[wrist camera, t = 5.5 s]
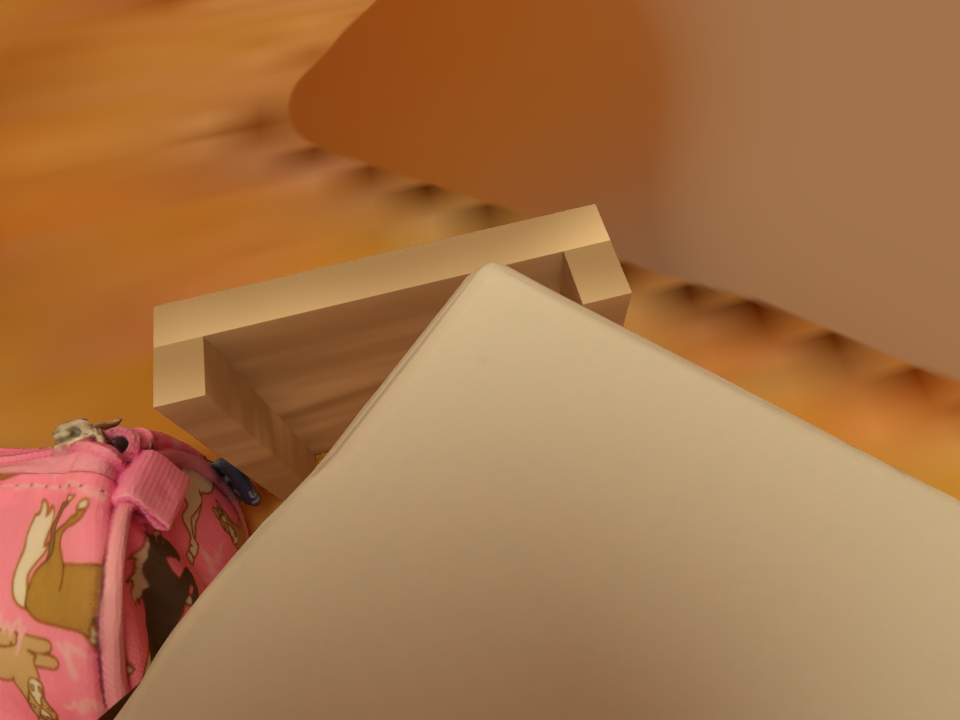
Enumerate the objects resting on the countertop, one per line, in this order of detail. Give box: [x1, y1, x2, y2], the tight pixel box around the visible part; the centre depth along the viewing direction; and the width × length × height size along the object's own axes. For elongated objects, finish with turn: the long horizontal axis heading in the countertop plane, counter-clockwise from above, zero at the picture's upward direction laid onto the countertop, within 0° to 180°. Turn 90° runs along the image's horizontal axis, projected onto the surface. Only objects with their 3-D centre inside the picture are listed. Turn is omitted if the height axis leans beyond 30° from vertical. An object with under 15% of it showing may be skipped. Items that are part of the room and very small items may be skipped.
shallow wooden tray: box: [153, 204, 632, 502], centre depth 19 cm, size 3×11×9 cm, turn 103°
